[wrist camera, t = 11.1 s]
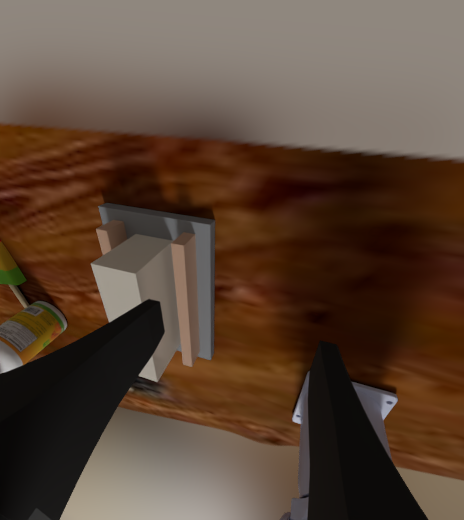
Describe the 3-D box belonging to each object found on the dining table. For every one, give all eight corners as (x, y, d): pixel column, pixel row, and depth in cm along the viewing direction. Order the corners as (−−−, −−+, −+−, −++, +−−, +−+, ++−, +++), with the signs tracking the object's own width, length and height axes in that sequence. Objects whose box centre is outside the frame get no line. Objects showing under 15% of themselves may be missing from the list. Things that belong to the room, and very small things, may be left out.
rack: (213, 352, 27) (203, 376, 25) (136, 330, 29) (120, 350, 27) (214, 220, 19) (199, 235, 16) (106, 202, 21) (79, 214, 19)
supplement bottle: (59, 333, 36) (-15, 396, 28) (30, 307, 34) (-57, 365, 26) (74, 323, 33) (-3, 389, 25) (43, 294, 32) (-49, 355, 24)
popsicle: (-13, 209, 27) (-34, 215, 25) (51, 311, 34) (39, 321, 33) (-43, 210, 29) (-63, 216, 27) (25, 307, 36) (12, 316, 34)
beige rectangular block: (182, 339, 26) (157, 382, 22) (153, 331, 27) (124, 370, 23) (173, 240, 20) (135, 273, 16) (135, 233, 20) (90, 263, 16)
